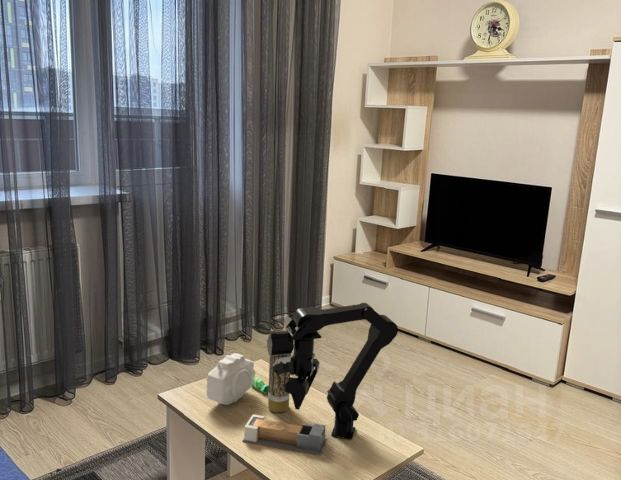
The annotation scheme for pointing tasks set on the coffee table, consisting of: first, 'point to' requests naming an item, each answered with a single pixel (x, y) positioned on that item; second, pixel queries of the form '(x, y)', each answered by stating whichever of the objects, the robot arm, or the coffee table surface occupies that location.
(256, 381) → the candy
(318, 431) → the sleeve
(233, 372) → the camera
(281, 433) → the tan wooden block
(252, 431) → the socket
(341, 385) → the robot arm
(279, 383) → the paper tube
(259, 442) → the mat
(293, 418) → the coffee table surface
